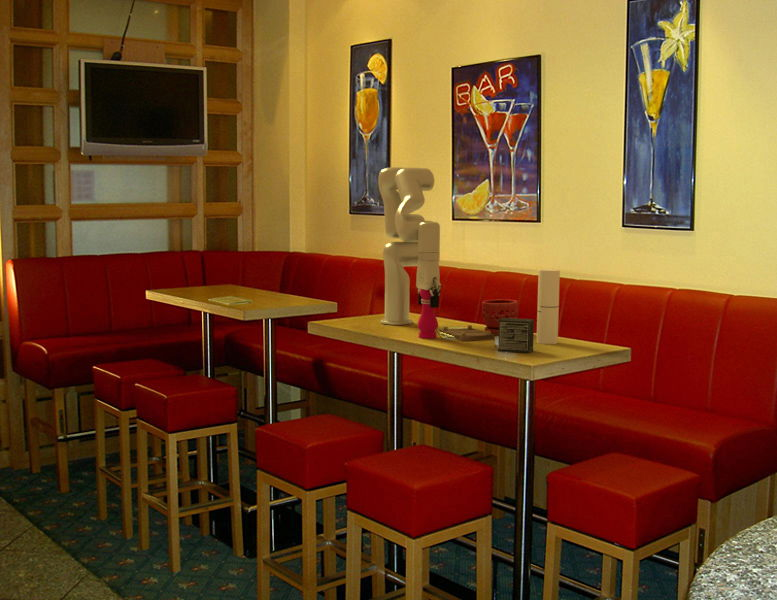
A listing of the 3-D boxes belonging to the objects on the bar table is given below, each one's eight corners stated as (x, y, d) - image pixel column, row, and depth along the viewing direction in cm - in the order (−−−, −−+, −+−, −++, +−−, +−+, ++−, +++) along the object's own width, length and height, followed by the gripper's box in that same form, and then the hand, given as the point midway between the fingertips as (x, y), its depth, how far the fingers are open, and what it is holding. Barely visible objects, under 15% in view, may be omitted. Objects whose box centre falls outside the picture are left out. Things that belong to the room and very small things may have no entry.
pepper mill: (436, 339, 327) (437, 282, 324) (415, 338, 328) (416, 281, 326) (439, 336, 334) (440, 280, 331) (419, 335, 335) (420, 279, 333)
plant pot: (507, 329, 350) (508, 298, 349) (523, 335, 338) (524, 302, 337) (475, 331, 346) (476, 299, 345) (490, 336, 334) (491, 303, 333)
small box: (534, 350, 306) (534, 318, 305) (529, 353, 300) (530, 321, 299) (502, 348, 310) (503, 316, 308) (497, 351, 304) (498, 319, 302)
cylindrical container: (550, 344, 317) (552, 271, 314) (532, 342, 322) (534, 269, 319) (561, 342, 323) (563, 269, 320) (543, 340, 327) (545, 268, 324)
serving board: (439, 333, 339) (439, 326, 338) (471, 332, 344) (471, 324, 344) (461, 341, 323) (461, 333, 323) (494, 339, 328) (494, 331, 328)
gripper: (408, 256, 334) (408, 303, 336) (429, 259, 318) (429, 309, 320) (427, 255, 337) (427, 303, 339) (449, 258, 321) (449, 308, 323)
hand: (428, 305), depth 329 cm, fingers open, 9 cm apart
